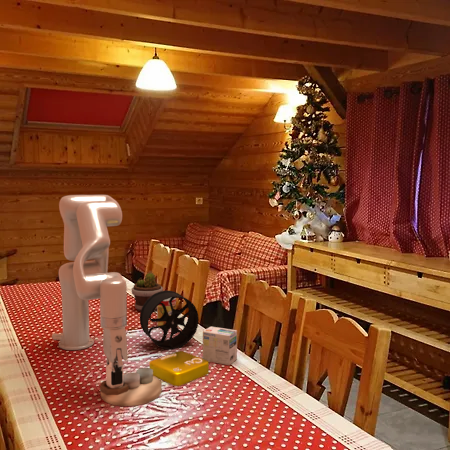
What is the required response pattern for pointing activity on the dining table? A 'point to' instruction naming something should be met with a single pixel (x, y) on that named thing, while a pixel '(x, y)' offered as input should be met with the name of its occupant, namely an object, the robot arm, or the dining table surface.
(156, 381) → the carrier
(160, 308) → the canned food
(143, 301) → the flowerpot
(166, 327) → the car wheel rim
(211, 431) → the dining table surface
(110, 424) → the dining table surface
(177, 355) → the element tile
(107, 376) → the salt shaker
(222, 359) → the light bulb box
